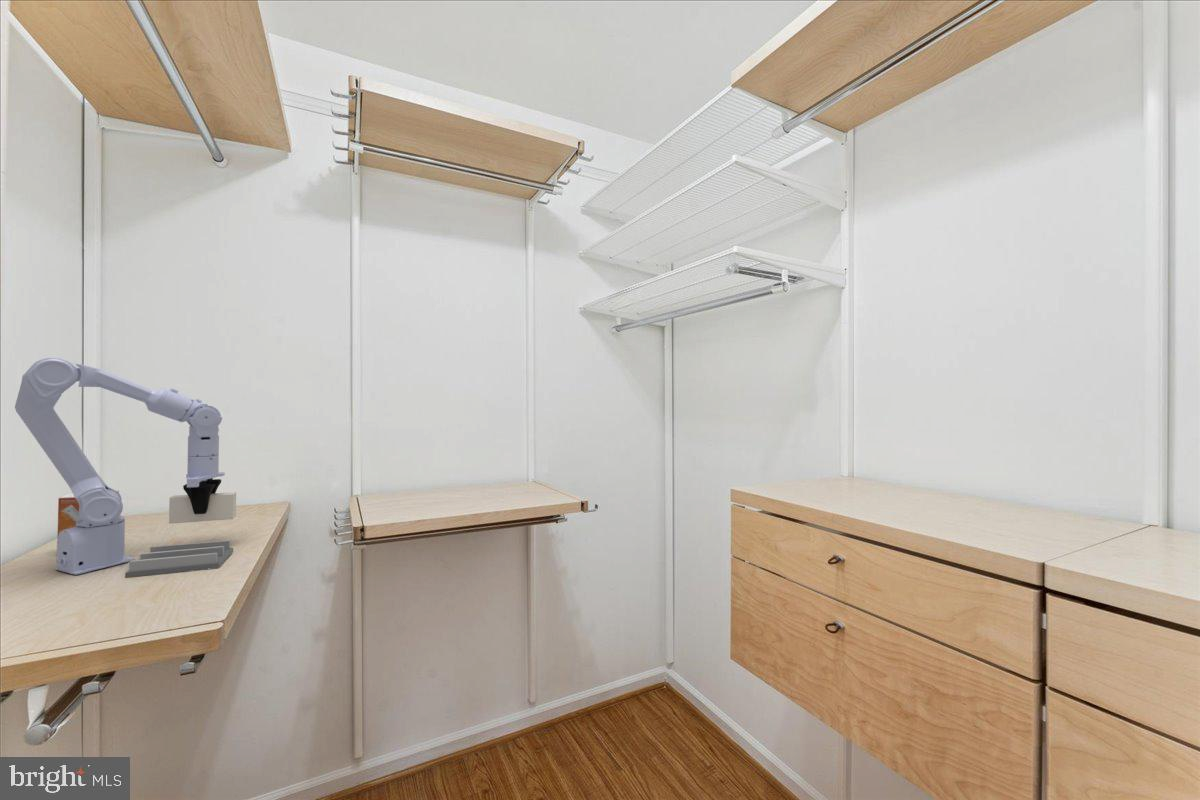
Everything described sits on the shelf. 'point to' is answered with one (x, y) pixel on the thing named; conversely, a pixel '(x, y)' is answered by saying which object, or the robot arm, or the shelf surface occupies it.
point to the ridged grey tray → (180, 558)
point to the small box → (68, 512)
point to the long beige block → (218, 509)
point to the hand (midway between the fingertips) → (202, 512)
